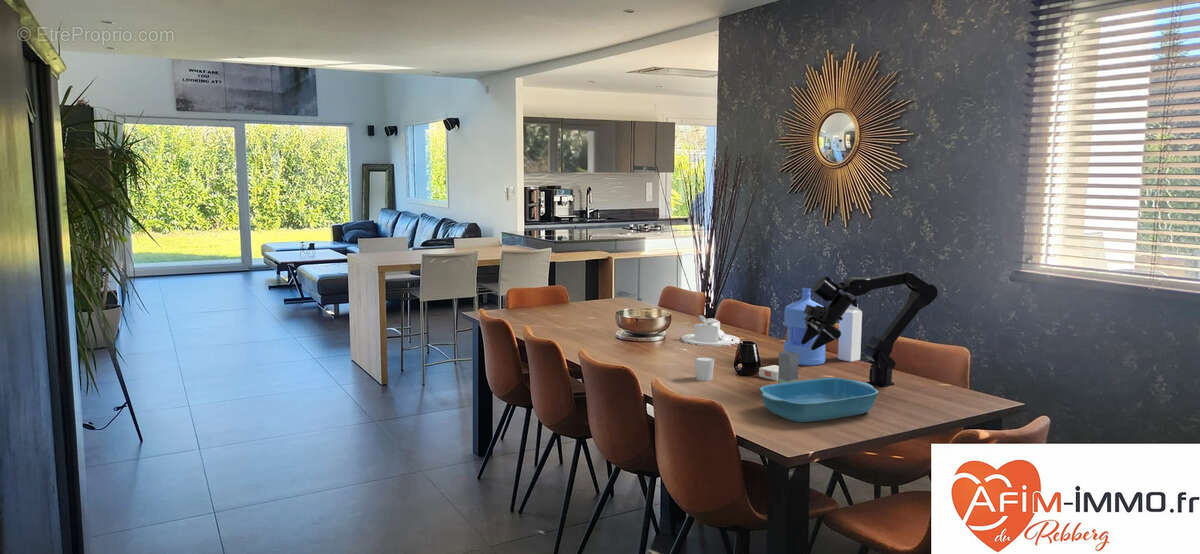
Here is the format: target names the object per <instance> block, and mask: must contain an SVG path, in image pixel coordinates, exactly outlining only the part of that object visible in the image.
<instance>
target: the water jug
mask: <svg viewBox="0 0 1200 554" xmlns="http://www.w3.org/2000/svg"><path fill="white" fill-rule="evenodd" d="M801 290H802V292H801V299H799V300H797V301H795V302H792V303H790V304H788V305H786V306H785V307H784V316H783V317H784V325H785V326H786V327H787V339H786V340H785V341H784V343H783V352H784V351H791V352H796V353H799V362H798V366H808V367H810V366H812V367H813V366H820V365H823V364H824V363H825V362H826V345H827V344H825V345H823V346H821V347H819V348H817V349H815V350H812V349H811V347H812V345H813V343H814V341H815V340H816V338H817V336H818V335H819V334H818V335H817V336H815V337H814V338H813V339H811V340H810V341H808V342H807V343H805V344H804V345H803V344H801V341H802V338H803V336H804V333H805V330H806V324H805V320H804V319H805V318H806V316H807V314H805V313H804V311H805V308H806V305H811V306H814V307H815V306H816V305H818V306H821V307H823V306H824V305H821V304H820V303H818V302H816V301H814V300H812V299H811V290H812V288H808V287H806V288H805V287H804V288H801ZM806 322H807V321H806ZM818 331H819V330H818Z"/></svg>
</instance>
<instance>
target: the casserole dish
mask: <svg viewBox="0 0 1200 554" xmlns="http://www.w3.org/2000/svg"><path fill="white" fill-rule="evenodd" d="M759 392H760V395H761V399H762V402H763V404H764V406H765V408H766V409H767V410H768V411H769V412H771V413H772V414H775V415H776V416H779V417H782V418H783V419H785V420H789V421H792V422H796V423H811V422H821V421H829V420H835V419H840V418H846V417H854V416H859V415H862V414H865V413H867V412H869V411H870V410H871V409H872V407H873V406H874V404H875V401H876V399H877V396H878V394H879V391H878V389H876V388H875V387H874V386H873V384H869V383H867V382H863V381H860V380H854V379H847V378H842V377H824V378H823V377H822V378H812V379H806V380H805V379H804V380H798V381H795V382H787V383H779V384H778V383H772V384H767V385H763V386H761V387H760V388H759Z"/></svg>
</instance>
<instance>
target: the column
mask: <svg viewBox="0 0 1200 554" xmlns="http://www.w3.org/2000/svg"><path fill="white" fill-rule="evenodd" d="M798 362H799V353H796V352H791V351H784V350H783V351H780V352H778V366H779V372H778V381H777V384H779V383H787V382H795V381H799V365H798Z"/></svg>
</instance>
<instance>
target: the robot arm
mask: <svg viewBox="0 0 1200 554" xmlns="http://www.w3.org/2000/svg"><path fill="white" fill-rule="evenodd" d="M900 285H903V286H905V287H906V288H907V289H908V290H910V292H909V294H908V299H907V302H906V303H905V305H903V307H902V309H901V310H900V311H899V312H898V313H897V314H896V316H895V317H894V319H893V320H892V321H891V323H890V324H889V325H888V326H887V328H886V329H885V330H884V331H883V332H882V334H881V335H879V336H878V337H877V336H875V335H872V336H871V337H870V340H868V342H867V343H865V348H864V355H865V357H866V359H868V363H869V364H871V365H870V368H869V377H868V379H869V380H868V381H867V382H866V383H868V384H870V385H874V386H877V387H878V386H879V387H888V386H893V385H895V382H893V381H892V380H893V369H895V366H896V361H895V360H894V359H893V358H892V357H891V354H892V353H893V349H894V344H895V343H896V341H897V340H898V338H899V337H900V336H901V335H902V334H903V332H904V331H905V330H906V329H907V327H908V326H909V325H910V323H911V322H912V321H913V319H914V318H915V317H916V316H917V315H918V313H919V312H920V311H921V310H923V309H924V308H926V307H927V306H929V305H930V304H931V303H933V302H934V301H935V300H936V299H937V298H938V295H939V292H938V288H937V287H936V285H934V284H931V283H928V282H926V281H925V280H923V279H921V278H919V277H918V276H916V274H914V273H913V272H912V271H907V270H901V271H900V272H899V271H898V272H893V273H888V274H882V275H876V276H870V277H859V276H850V277H849V276H848V277H847V278H844V280H843V281H841V282H838V283H835V281H833V280H832V279H831V278H830V277H829V276H827V275H824V276H823V277H822V278H820V279H818V281H816V282H815V283H814V284H813V286H812V288H811V290H812V292H813V293H814V294H816V295H817V296H818V297H819V298H821V300H823V301H825V302H828V304H827V305H822V306H823V307H821V306H818V305H816V306H815V307H814V306H811V305H806V308H805V311H804V313H805V314H807V316H806V318H805V319H804V320H805V324H806V330H805V333H804V336H803V338H802V341H801V344H803V345H804V344H805V343H807V342H808V341H810V340H811V339H813V338H814V337H815V336H817V335H818V334H819V335H818V336H817V338H816V340H815V341H814V343H813V345H812V347H811V349H812V350H815V349H817V348H819V347H821V346H823V345H825V344H826V345H827V344H830V343H831V342H834V341H836V340H838V341H839V337H840V336H841V331H840V330H839V328H837V327H836V326H835V325H836V324H837V323H839V322H838V321H839V320H842V319H843V318H842V315H843V314H844V313H845V311H846V310H847V309H848V308H849V306H850V305H851V306H854V307H857V304H858V302H857V300H858V299H857V298H854V297H860V296H863V295H866V294H868V293H869V292H872V291H874V290H878V289H883V288H888V287H889V288H890V287H895V286H900ZM841 292H843V293H841ZM849 295H850V296H849ZM851 296H853V298H852V297H851ZM806 321H807V322H806ZM818 330H819V331H818ZM826 345H825V346H826Z"/></svg>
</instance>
